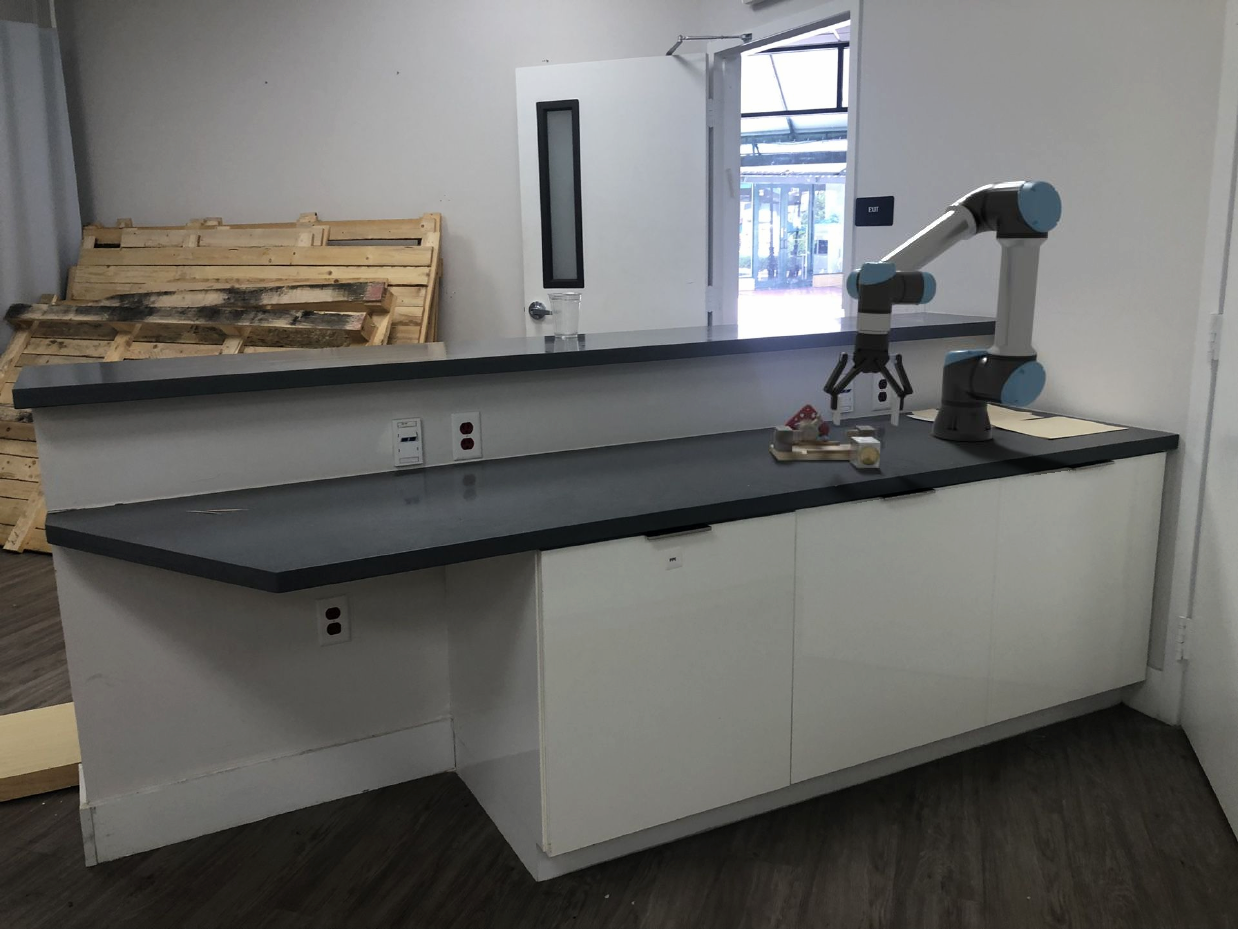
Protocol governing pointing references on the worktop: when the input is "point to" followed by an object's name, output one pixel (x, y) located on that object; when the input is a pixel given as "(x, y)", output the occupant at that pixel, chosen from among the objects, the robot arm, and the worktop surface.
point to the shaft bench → (813, 445)
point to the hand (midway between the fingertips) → (865, 424)
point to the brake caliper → (810, 425)
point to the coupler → (865, 452)
